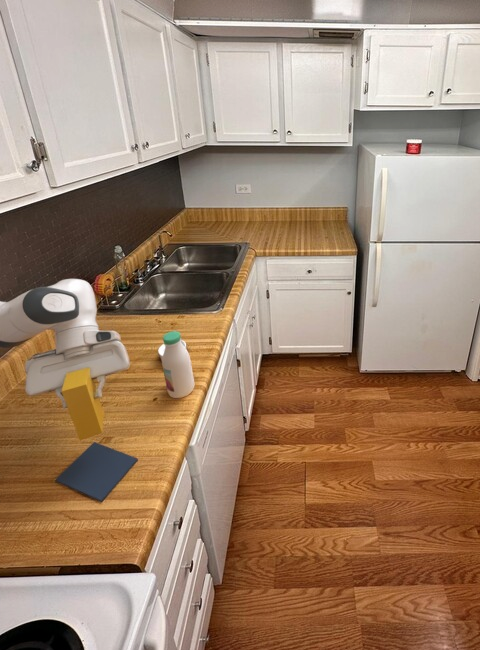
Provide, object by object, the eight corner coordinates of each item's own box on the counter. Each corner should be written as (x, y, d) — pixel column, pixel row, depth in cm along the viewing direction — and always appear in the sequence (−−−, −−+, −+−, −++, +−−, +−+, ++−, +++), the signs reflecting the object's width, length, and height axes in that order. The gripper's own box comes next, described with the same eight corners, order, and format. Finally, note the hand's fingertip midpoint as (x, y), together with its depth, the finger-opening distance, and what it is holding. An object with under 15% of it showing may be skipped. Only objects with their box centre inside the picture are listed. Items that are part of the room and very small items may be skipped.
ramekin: (191, 359, 114) (189, 349, 112) (164, 370, 109) (161, 359, 107) (183, 346, 121) (181, 336, 119) (157, 355, 116) (155, 345, 114)
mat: (55, 481, 76) (54, 479, 76) (94, 443, 85) (94, 441, 85) (101, 502, 72) (101, 500, 72) (138, 460, 81) (137, 458, 80)
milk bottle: (195, 378, 106) (187, 325, 99) (193, 396, 99) (184, 341, 92) (170, 382, 104) (159, 329, 97) (166, 401, 97) (154, 345, 90)
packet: (83, 420, 82) (66, 373, 76) (104, 414, 83) (89, 367, 78) (79, 440, 77) (61, 391, 71) (102, 433, 78) (86, 384, 73)
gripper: (18, 354, 74) (20, 420, 69) (122, 329, 82) (130, 386, 78) (30, 358, 79) (32, 419, 75) (127, 334, 88) (134, 388, 83)
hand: (83, 402), depth 76 cm, fingers closed on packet, 4 cm apart
